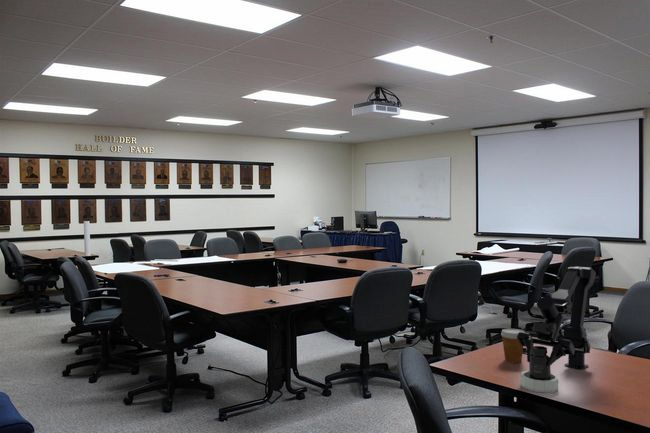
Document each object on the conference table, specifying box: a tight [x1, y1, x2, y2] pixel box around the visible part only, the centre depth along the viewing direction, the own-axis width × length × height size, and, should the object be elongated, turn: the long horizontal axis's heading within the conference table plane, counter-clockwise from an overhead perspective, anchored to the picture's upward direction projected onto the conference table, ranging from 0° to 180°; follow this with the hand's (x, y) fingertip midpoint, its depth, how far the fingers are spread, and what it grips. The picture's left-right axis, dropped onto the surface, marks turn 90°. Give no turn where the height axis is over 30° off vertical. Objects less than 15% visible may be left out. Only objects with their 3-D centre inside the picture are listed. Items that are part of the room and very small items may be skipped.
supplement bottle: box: [528, 345, 552, 381], centre depth 184 cm, size 7×7×12 cm
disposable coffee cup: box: [500, 328, 525, 363], centre depth 216 cm, size 10×10×12 cm
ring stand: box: [520, 370, 559, 394], centre depth 184 cm, size 12×12×4 cm
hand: (537, 363), depth 184 cm, fingers closed on supplement bottle, 7 cm apart
